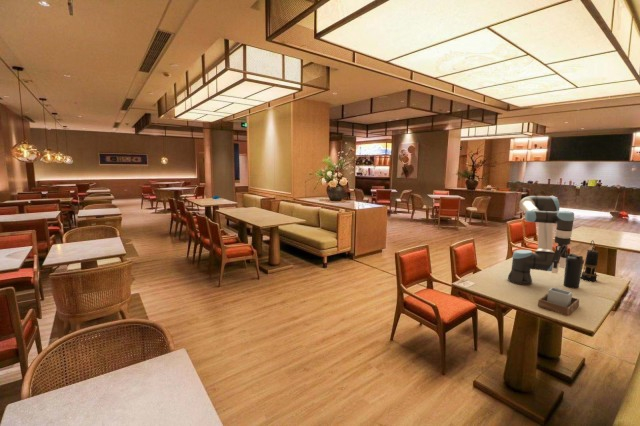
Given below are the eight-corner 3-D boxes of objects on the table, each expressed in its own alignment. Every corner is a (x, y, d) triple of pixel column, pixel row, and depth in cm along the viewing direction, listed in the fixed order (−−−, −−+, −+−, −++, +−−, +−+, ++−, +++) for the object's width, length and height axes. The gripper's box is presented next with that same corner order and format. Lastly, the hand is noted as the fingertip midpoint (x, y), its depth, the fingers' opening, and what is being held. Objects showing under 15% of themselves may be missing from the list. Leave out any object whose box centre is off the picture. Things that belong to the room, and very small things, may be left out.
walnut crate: (549, 297, 202) (550, 291, 202) (578, 306, 191) (579, 299, 190) (537, 306, 190) (538, 299, 190) (568, 315, 179) (569, 308, 178)
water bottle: (568, 282, 228) (572, 252, 224) (583, 288, 218) (588, 256, 214) (558, 284, 224) (562, 253, 221) (573, 289, 215) (578, 257, 211)
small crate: (550, 300, 196) (552, 287, 195) (570, 306, 189) (572, 292, 187) (546, 303, 192) (548, 289, 191) (566, 309, 184) (568, 295, 183)
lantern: (599, 281, 231) (605, 241, 226) (590, 282, 228) (596, 242, 223) (586, 276, 239) (591, 238, 234) (577, 278, 237) (583, 239, 232)
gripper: (561, 232, 197) (557, 264, 201) (548, 239, 182) (543, 273, 186) (576, 234, 191) (571, 267, 195) (564, 241, 176) (559, 277, 180)
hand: (558, 270), depth 191 cm, fingers open, 13 cm apart
